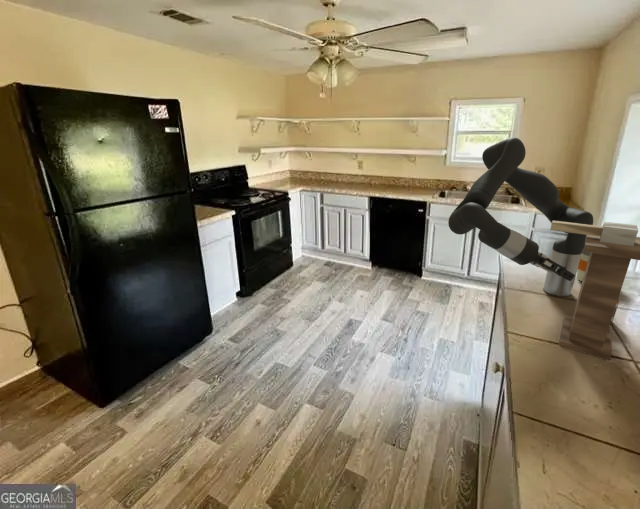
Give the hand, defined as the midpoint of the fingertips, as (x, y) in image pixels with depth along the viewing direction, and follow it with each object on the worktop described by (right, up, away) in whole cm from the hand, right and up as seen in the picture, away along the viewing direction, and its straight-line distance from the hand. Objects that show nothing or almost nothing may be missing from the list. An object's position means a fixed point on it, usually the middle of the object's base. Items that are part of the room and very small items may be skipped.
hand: (563, 273), depth 98 cm
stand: (+12, -20, +8) cm, 25 cm away
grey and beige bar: (+7, +11, 0) cm, 13 cm away
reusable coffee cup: (+44, -5, +46) cm, 64 cm away
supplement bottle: (+25, -17, +17) cm, 35 cm away
